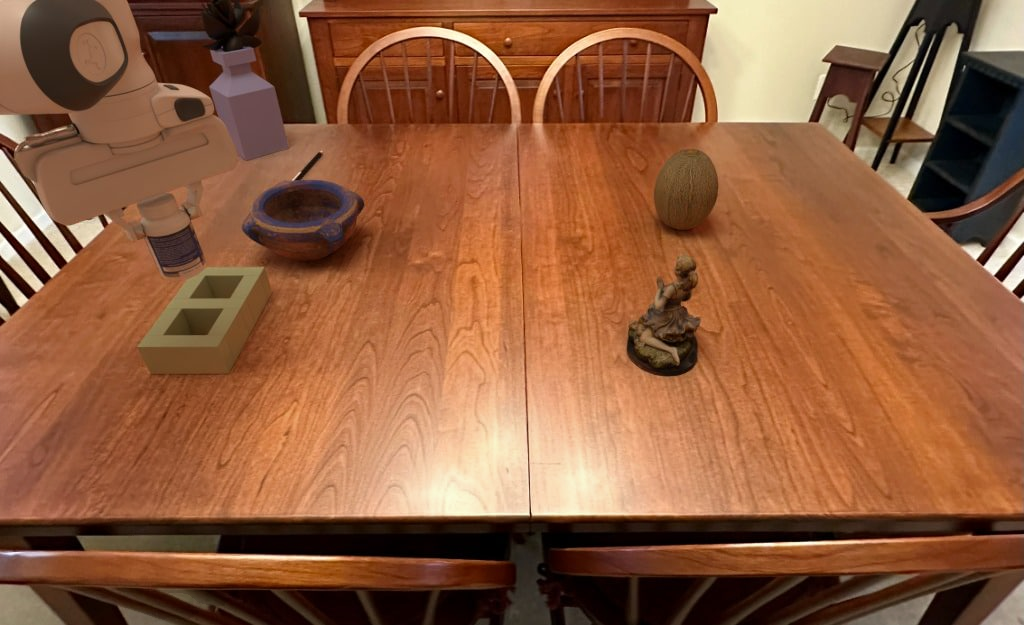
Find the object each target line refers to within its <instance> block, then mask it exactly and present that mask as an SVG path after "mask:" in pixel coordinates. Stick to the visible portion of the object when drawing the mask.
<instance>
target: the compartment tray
mask: <svg viewBox="0 0 1024 625" xmlns="http://www.w3.org/2000/svg"><path fill="white" fill-rule="evenodd" d="M272 294H273V290H272V287H271V284H270V280H269V277H268V274H267V270H266V267H265V266H206V267H205V269H204V270H203V271H202V272H201V273H199V274H198V275H196V276H194V277H191V278H188V279H185V282H184V283H183V284H182V286H181V287H180V288H179V290H178V291H177V292H176V294H175V295H174V297H173V298H172V299H171V301H170V302H169V303H168V304H167V306H166V307H165V308H164V310H163V311H162V312H161V314H160V315H159V317H158V318H157V319H156V321H155V322H154V323H153V325H152V326H151V327H150V328H149V330H148V331H147V332H146V334H145V335H144V336H143V338H142V339H141V341H140V342H139V343H138V344H137V346H136V349H137V350H138V353H139V354H140V356H141V358H142V361H143V362H144V364H145V367H146V368H147V369H148V372H149V373H150V375H229V374H230V372H231V370H232V369H233V367H234V365H235V363H236V361H237V359H238V358H239V356H240V354H241V351H242V349H243V348H244V346H245V344H246V343H247V341H248V339H249V337H250V335H251V333H252V331H253V329H254V328H255V325H256V323H257V322H258V320H259V318H260V316H261V314H262V313H263V311H264V309H265V307H266V305H267V304H268V301H269V299H270V297H271V296H272Z"/></svg>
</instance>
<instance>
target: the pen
mask: <svg viewBox="0 0 1024 625" xmlns="http://www.w3.org/2000/svg"><path fill="white" fill-rule="evenodd" d="M323 151H324V150H323V149H322V150H320V151H318V152H317V153H316V154H315V155H314V156H313V157H312V158H311V159H310V161H308V163H307V164H306V165H305V166H304V167H303V169H302V170H300V171H299V172H298V173H297V174H295V176H294V177H293V178H292V179H291V180H290V181H293V180H301V179H302V177H303V176H304V175H305V174H306V173H307V172H308V171H309V170H310V169H311V167H312V166H314V164H315V163H316V162H317V161H318V160H319V158H321V156H322V155H323Z"/></svg>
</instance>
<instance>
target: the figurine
mask: <svg viewBox="0 0 1024 625" xmlns="http://www.w3.org/2000/svg"><path fill="white" fill-rule="evenodd" d="M697 267H698V266H697V262H696V260H695V258H693V257H692V256H690V255H688V254H686V253H680V254H679V255H678V256H677V259H676V262H675V266H674V267H673V272H674V273H673V274H674V275H675V277H676V280H675V281H673V282H670V283H668V284H665V282H664V280H663V278H662V276H661V275H660V276H659V275H658V276H657V278H656V286H657V290H656V293H655V295H654V301H653V303H651V304H650V305H648V308H647V311H646V312H645V313H644V314H642V315H640V316H638V320H634V319H633V320H630V321H629V323H628V331H627V335H628V337H627V342H626V355H627V357H628V358H629V360H630V361H631V362H632V363H634V365H636V366H637V367H638V368H639V369H641V370H643V371H645V372H646V373H649V374H652V375H654V376H655V375H656V376H662V377H675V376H680V375H683V374H686V373H688V372H689V371H691V370H692V369H693V368H694V367H695V366H696V364H697V362H698V352H699V351H698V350H699V348H698V347H699V345H698V339H697V337H696V334H695V333H696V332H697V330H698V328H699V327H700V325H701V322H702V318H701V317H700V316H697V317H694V315H693V314H690V313H689V311H688V307H686V306H684V305H682V302H683V303H685V302H688V301H690V300H691V298H692V295H693V289H695V288H696V287H697V285H698V284H699V275H698V272H697V271H696V270H697Z"/></svg>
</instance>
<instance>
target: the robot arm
mask: <svg viewBox="0 0 1024 625" xmlns="http://www.w3.org/2000/svg"><path fill="white" fill-rule="evenodd" d="M214 113H215V104H214V101H213V99H212V97H210V96H209V95H207V94H205V93H204V92H202V91H200V90H198V89H196V88H193V87H191V86H188V85H185V84H180V83H169V82H167V83H165V82H158V80H157V78H156V75H155V73H154V70H153V69H152V67H151V66H150V65H149V64H148V62H147V60H146V59H145V56H144V54H143V51H142V47H141V37H140V31H139V29H138V25H137V23H136V20H135V17H134V15H133V11H132V10H131V7H130V4H129V2H128V0H0V116H20V115H22V116H24V115H25V116H27V115H58V114H59V115H62V114H67V115H68V116H69V118H70V121H71V122H72V123H71V124H66V125H63V126H60V127H56V128H53V129H51V130H48V131H45V132H41V133H32V134H29V135H27V136H25V137H23V141H21V142H20V143H19V144H18V145H17V146H16V147H15V149H14V152H13V157H14V158H13V159H14V161H15V163H16V164H17V166H18V168H19V170H20V172H21V174H22V175H23V176H24V177H25V178H26V179H28V180H30V181H32V182H33V184H34V188H35V191H36V193H37V196H38V198H39V200H40V202H41V205H42V207H43V209H44V211H45V212H46V213H47V215H48V216H49V217H50V218H51V219H52V220H53V221H54V222H56V223H58V224H60V225H64V226H66V227H70V226H73V225H76V224H79V223H83V222H85V221H88V220H91V219H94V218H96V217H99V216H102V215H105V216H106V217H107V218H108V219H109V220H111V221H112V222H113V223H115V224H117V226H120V227H122V228H123V230H124V232H125V235H126V236H127V238H128V239H129V240H130V241H131V242H132V243H136V242H138V241H140V240H143V239H144V238H145V237H146V235H145V233H144V232H143V228H142V226H141V225H140V222H138V221H137V220H135V219H134V220H131V221H126V220H125V219H124V218H123V217H125V212H124V210H123V208H126V207H129V206H132V205H134V204H137V203H138V202H140V201H143V200H146V199H149V198H152V197H155V196H158V195H161V194H164V193H170V192H172V191H175V190H179V189H181V188H186V189H187V190H188V191H187V192H188V193H187V195H186V196H187V197H186V201H184V202H181V203H180V206H181V210H183V211H185V212H186V213H187V214H188V216H189V218H190V220H191V221H193V220H196V219H198V218H201V217H203V212H202V209H201V207H200V204H201V200H202V197H203V192H204V185H203V182H202V181H205V180H207V179H210V178H213V177H216V176H219V175H223V174H225V173H228V172H230V171H233V170H235V169H236V167H237V164H238V162H239V156H238V155H237V152H236V149H235V146H234V144H233V141H232V139H231V136H230V134H229V132H228V130H227V128H226V126H225V124H224V123H223V122H222V120H221V119H219V117H218V115H217V116H216V115H215V114H214ZM26 146H27V147H26Z"/></svg>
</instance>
